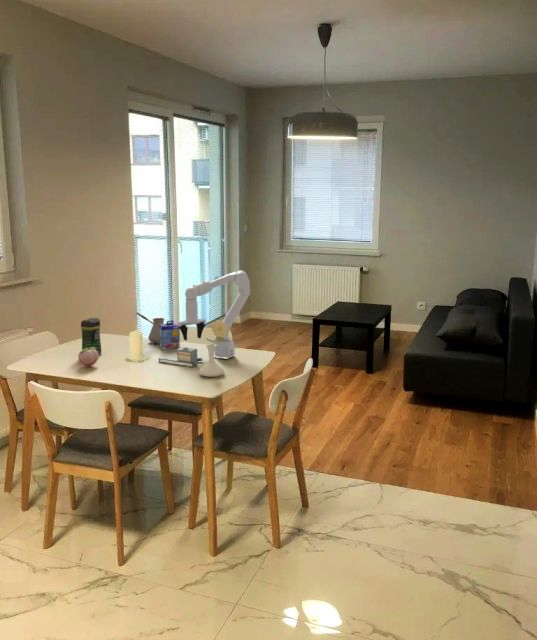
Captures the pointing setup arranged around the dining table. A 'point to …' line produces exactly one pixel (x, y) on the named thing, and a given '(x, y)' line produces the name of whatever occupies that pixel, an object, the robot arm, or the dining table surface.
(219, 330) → the flower in vase
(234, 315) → the robot arm
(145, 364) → the dining table surface
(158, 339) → the coffee pot
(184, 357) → the carton
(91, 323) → the coffee jar
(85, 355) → the decorative fruit
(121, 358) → the dining table surface
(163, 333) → the ink cartridge box
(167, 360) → the price rail
